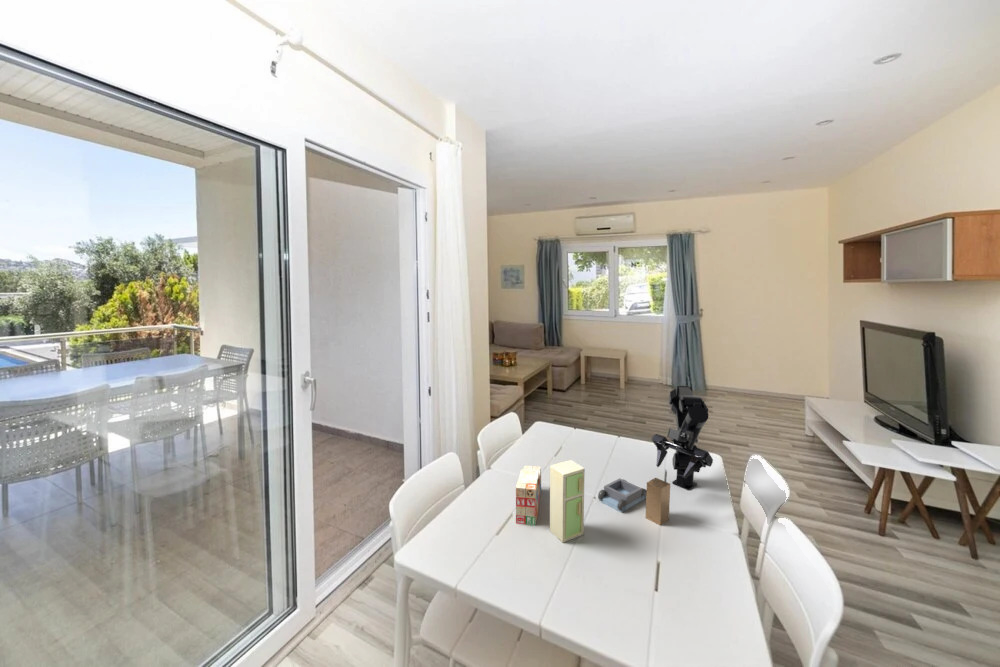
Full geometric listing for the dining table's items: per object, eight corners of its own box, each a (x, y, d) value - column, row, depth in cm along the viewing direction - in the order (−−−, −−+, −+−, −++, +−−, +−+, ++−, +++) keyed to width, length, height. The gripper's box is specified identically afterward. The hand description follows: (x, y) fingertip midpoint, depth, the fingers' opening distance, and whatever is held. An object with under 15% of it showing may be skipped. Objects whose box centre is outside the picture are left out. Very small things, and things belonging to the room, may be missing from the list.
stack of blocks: (524, 489, 142) (524, 457, 140) (541, 490, 140) (541, 458, 139) (515, 524, 121) (515, 487, 119) (535, 526, 120) (535, 488, 118)
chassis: (624, 487, 142) (624, 475, 142) (646, 497, 135) (647, 485, 134) (598, 501, 133) (598, 489, 132) (620, 513, 126) (620, 500, 125)
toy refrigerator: (563, 544, 111) (564, 475, 108) (549, 530, 117) (549, 464, 115) (585, 536, 114) (586, 469, 112) (570, 523, 121) (570, 459, 118)
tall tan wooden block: (654, 512, 126) (655, 477, 125) (668, 519, 122) (670, 483, 121) (645, 518, 123) (646, 482, 122) (660, 525, 119) (661, 488, 118)
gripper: (655, 411, 134) (635, 450, 129) (710, 427, 119) (690, 472, 114) (666, 427, 140) (648, 465, 135) (721, 444, 125) (702, 488, 120)
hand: (670, 471), depth 126 cm, fingers open, 9 cm apart
